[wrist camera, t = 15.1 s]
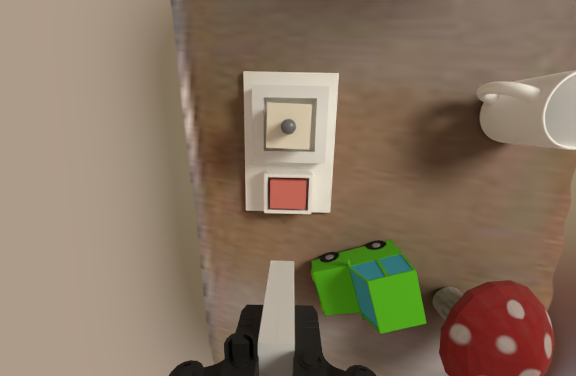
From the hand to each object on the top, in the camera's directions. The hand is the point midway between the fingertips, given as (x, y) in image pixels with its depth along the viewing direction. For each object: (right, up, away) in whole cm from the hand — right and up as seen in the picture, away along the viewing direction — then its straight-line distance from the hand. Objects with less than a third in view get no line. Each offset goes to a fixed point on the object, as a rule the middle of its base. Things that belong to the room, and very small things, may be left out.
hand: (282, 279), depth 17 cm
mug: (+30, +17, +20) cm, 40 cm away
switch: (0, +5, +22) cm, 22 cm away
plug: (+1, +15, +21) cm, 25 cm away
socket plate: (+1, +12, +22) cm, 25 cm away
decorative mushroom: (+28, -12, +28) cm, 41 cm away
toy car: (+11, -7, +27) cm, 30 cm away
